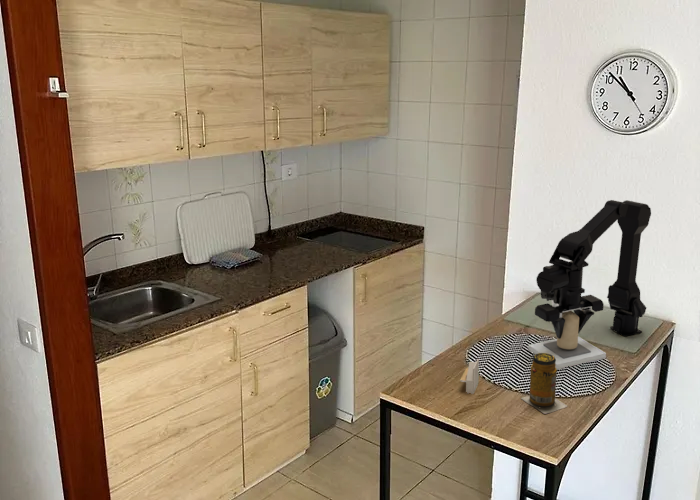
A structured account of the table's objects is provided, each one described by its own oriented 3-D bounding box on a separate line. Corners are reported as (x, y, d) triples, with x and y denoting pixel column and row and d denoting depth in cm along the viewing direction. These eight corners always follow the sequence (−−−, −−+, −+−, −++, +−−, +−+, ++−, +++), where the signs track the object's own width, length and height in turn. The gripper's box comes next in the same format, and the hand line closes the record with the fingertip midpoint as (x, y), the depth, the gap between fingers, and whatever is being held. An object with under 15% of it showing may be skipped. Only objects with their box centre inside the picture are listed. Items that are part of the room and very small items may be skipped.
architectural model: (460, 393, 166) (460, 367, 164) (466, 380, 172) (466, 355, 170) (473, 395, 165) (473, 369, 162) (479, 382, 171) (479, 356, 168)
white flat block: (575, 339, 191) (575, 333, 190) (605, 358, 179) (606, 351, 179) (528, 349, 186) (528, 343, 185) (556, 369, 174) (557, 362, 174)
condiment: (543, 391, 164) (545, 348, 161) (567, 406, 157) (570, 362, 153) (520, 399, 161) (522, 355, 158) (544, 415, 154) (546, 369, 150)
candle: (578, 350, 179) (580, 316, 176) (557, 349, 180) (559, 315, 177) (576, 341, 184) (578, 308, 181) (555, 340, 185) (557, 308, 182)
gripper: (579, 269, 186) (576, 319, 191) (524, 280, 181) (522, 331, 185) (606, 281, 176) (602, 334, 181) (548, 293, 171) (546, 347, 175)
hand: (567, 336), depth 181 cm, fingers closed on candle, 5 cm apart
